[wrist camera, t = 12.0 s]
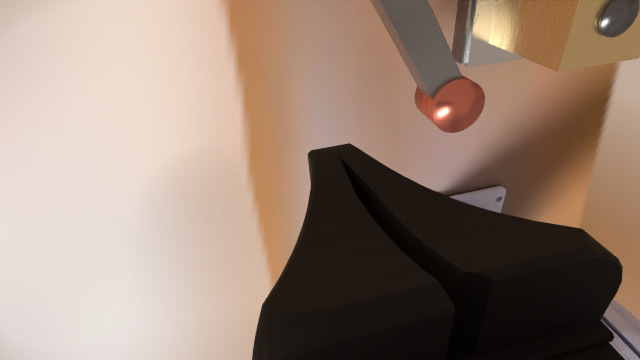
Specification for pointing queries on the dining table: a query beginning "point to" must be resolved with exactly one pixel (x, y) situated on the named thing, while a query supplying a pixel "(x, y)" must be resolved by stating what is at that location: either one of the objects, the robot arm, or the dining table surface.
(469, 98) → the lever
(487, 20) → the press
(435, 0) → the dining table surface
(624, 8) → the housing
